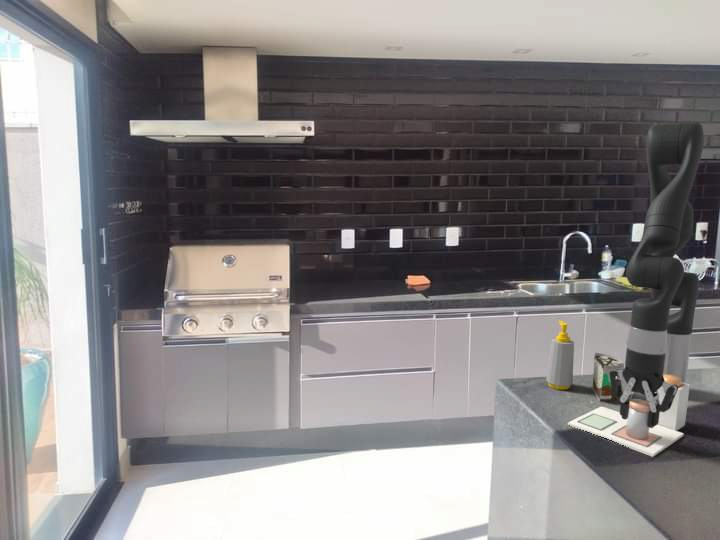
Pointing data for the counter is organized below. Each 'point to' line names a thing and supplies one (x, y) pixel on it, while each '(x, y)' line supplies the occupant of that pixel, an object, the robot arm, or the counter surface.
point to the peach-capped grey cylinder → (638, 419)
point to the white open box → (675, 408)
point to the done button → (672, 380)
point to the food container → (604, 375)
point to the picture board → (624, 431)
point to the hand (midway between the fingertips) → (638, 422)
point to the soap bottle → (561, 361)
